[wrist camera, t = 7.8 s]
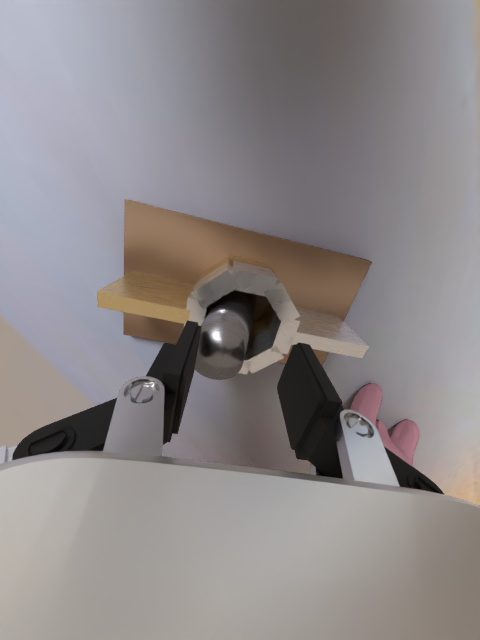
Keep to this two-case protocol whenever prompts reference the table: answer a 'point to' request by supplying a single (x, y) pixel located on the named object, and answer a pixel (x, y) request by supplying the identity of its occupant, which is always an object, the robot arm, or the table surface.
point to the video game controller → (400, 437)
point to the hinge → (227, 275)
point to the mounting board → (223, 240)
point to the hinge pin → (225, 336)
